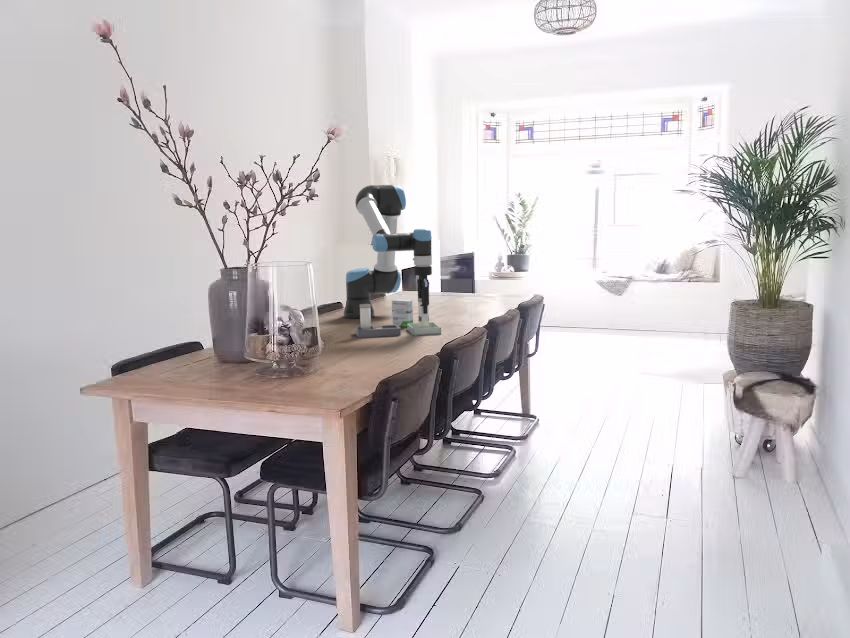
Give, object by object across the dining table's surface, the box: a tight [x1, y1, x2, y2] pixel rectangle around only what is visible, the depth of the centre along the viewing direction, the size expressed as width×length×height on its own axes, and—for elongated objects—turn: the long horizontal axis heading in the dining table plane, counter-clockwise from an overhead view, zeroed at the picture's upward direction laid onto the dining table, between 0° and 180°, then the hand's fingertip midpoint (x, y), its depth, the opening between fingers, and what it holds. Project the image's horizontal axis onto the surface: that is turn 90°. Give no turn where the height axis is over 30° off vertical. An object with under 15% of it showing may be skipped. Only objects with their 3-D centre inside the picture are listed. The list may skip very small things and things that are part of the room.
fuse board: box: [354, 324, 402, 338], centre depth 299 cm, size 10×18×3 cm, turn 102°
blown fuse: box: [417, 297, 430, 328], centre depth 302 cm, size 5×5×13 cm
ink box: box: [391, 298, 414, 328], centre depth 318 cm, size 9×5×12 cm, turn 60°
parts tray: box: [406, 321, 442, 336], centre depth 303 cm, size 14×12×3 cm
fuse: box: [359, 303, 372, 329], centre depth 297 cm, size 5×5×13 cm
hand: (423, 320), depth 302 cm, fingers closed on blown fuse, 4 cm apart
